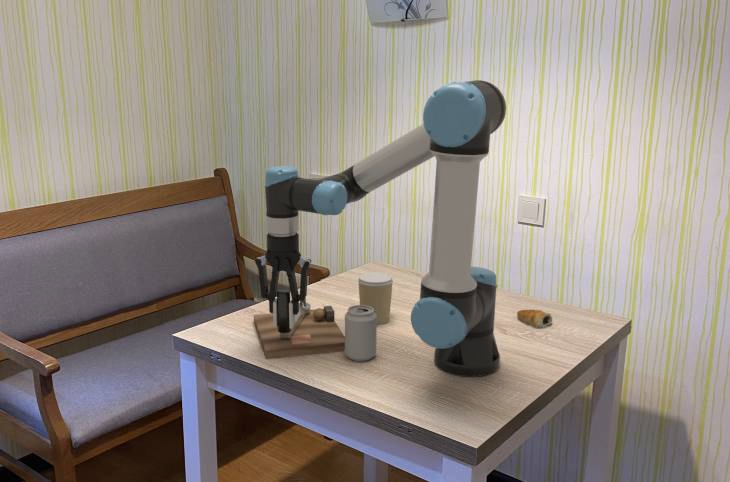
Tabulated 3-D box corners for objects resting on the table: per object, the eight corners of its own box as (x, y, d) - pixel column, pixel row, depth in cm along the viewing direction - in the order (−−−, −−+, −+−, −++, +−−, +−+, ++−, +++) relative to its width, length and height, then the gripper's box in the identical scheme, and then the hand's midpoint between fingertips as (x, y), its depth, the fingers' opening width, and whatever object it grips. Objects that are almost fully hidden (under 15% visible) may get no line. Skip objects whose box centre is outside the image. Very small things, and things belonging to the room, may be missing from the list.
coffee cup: (393, 313, 197) (394, 272, 193) (391, 326, 188) (391, 283, 184) (359, 312, 197) (360, 271, 194) (356, 324, 188) (356, 281, 185)
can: (381, 353, 171) (382, 306, 168) (366, 365, 164) (366, 316, 161) (355, 347, 174) (355, 301, 171) (338, 358, 168) (338, 310, 165)
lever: (297, 309, 193) (296, 266, 190) (312, 310, 192) (311, 267, 189) (274, 340, 172) (273, 293, 169) (290, 341, 172) (289, 294, 169)
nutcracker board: (348, 350, 173) (348, 330, 171) (265, 358, 168) (265, 338, 166) (327, 315, 195) (326, 297, 194) (253, 322, 190) (253, 303, 188)
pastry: (510, 320, 193) (511, 307, 192) (526, 314, 197) (527, 301, 196) (539, 330, 186) (540, 316, 185) (554, 324, 190) (555, 311, 189)
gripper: (319, 230, 169) (320, 322, 175) (253, 227, 171) (256, 318, 177) (313, 238, 162) (314, 334, 168) (244, 234, 164) (247, 329, 170)
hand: (284, 325), depth 173 cm, fingers closed on lever, 3 cm apart
